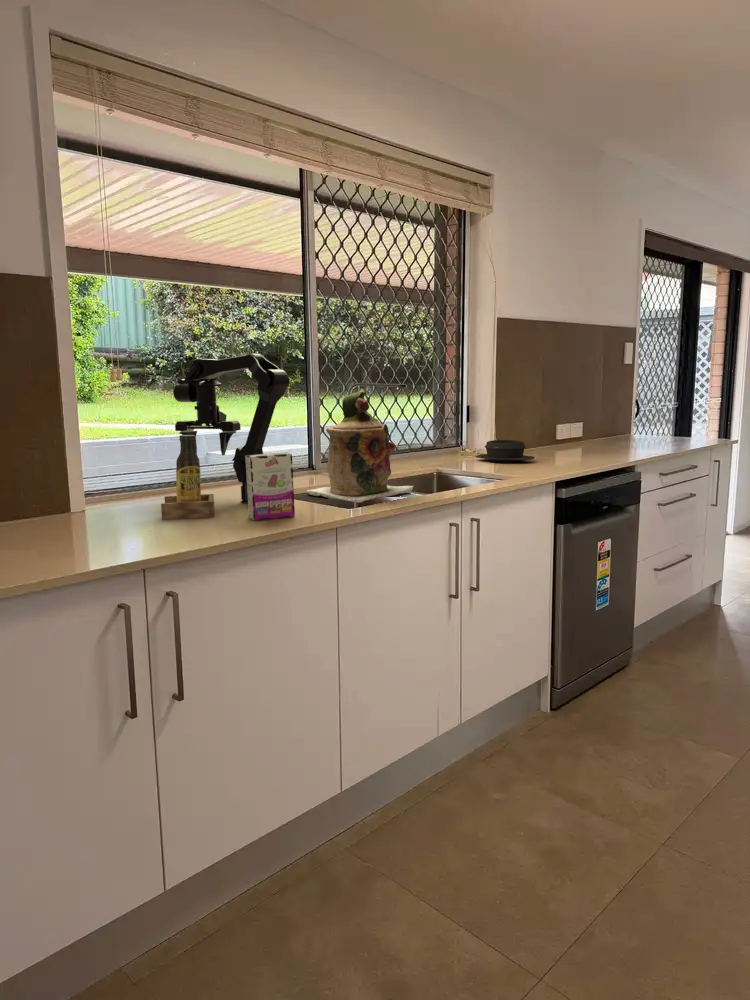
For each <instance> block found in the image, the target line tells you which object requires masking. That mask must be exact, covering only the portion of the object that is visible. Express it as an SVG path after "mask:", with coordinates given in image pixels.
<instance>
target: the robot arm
mask: <svg viewBox="0 0 750 1000" xmlns="http://www.w3.org/2000/svg"><path fill="white" fill-rule="evenodd" d="M244 370H249V371H250V373H251V375H252V377H253V379H255V381H257V393H258V401H257V405H256V409H255V412H254V415H253V418H252V421H251V425H250V427H249V432H248V435H247V438H246V442H245V444H244V445H243V446H241V447H236V448H235V452H234V456H233V458H232V460H231V461H232V462H233V464H232V468H233V469H234V472H235V474H236V479H237V482H239V483H241V486H240V497H241V498H240V499H241V500H240V504H248V493H247V475H246V460H245V456H246V455H258V454H264V451H263V448H264V443H265V440H266V438H267V436H268V435H267V434H268V431H269V428H270V424H271V421H272V418H273V415H274V412H275V408H276V405H277V403H278V402H279V400H280V399H282V397H283V396H284V395H285V393H286V391H287V389H288V387H289V385H290V377H289V375H288V373H287V372H286V371H285V370H283V369H280V368H279V367H278V366H277V365H275V364H274V363H272V362H271V361H269V360H268V359H267V358H266V357H265V356H263V355H262V354H261V353H248V354H245V355H243V354H242V355H239V356H237V355H236V356H233V357H226V358H221V359H213V358H195V359H194V360H192V363H191V366H190V368H189V370H188V372H187V375H186V376H185V378H183V379H180V378H179V379H177V383H176V384H175V386H174V387H173V391H172V392H173V393H172V394H173V397H174V399H175V400H176V401H177V402H179V403H196V405H195V406H194V410H196V416H197V419H196V420H179V421H178V420H177V421H176V422H175V424H174V431H175V432H179V433H178V434H179V435H195V453H196V454H197V453H198V446H197V434H198V430H221V432H219V433H218V435H219V444H220V446H219V447H220V453H221V456H225V454H226V453H227V452H226V451H227V449H228V446H229V442H230V440H231V438H232V436H233V435H234V434H236V433H237V431H241V423H240V422H239V420H227V414H225V413H224V412H223V411H220V405H217V392H216V391H217V389H216V387H222V383H221V382H220V381H218V380H217V378H218V377H221V376H222V375H223V374H226V373H231V372H237V371H244ZM204 424H205V425H204ZM197 455H198V454H197Z"/></svg>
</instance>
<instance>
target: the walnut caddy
mask: <svg viewBox="0 0 750 1000" xmlns="http://www.w3.org/2000/svg"><path fill="white" fill-rule="evenodd" d="M160 508H161V511H160V512H161V520H175V519H176V520H179V519H193V518H198V519H199V518H214V517H215V494H214V493H204V494H203V493H201V501H199V502H178V503H177V495H164V503H163V502H161V503H160Z"/></svg>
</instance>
